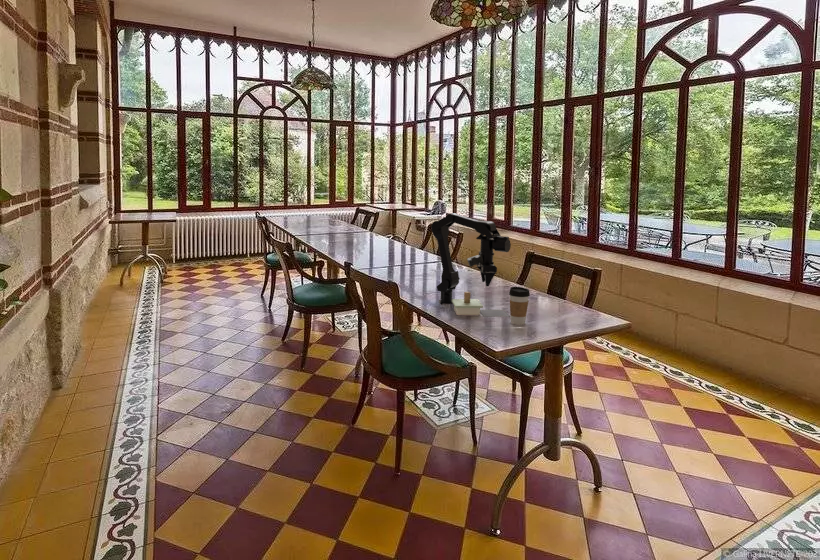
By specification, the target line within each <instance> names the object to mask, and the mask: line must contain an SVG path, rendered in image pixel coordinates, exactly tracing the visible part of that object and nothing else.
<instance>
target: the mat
mask: <svg viewBox="0 0 820 560" xmlns="http://www.w3.org/2000/svg"><path fill="white" fill-rule="evenodd" d="M480 316H482V317H483V318H497V317H498V318H510V313H508V312H507V311H506V310H505V309H480Z"/></svg>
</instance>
